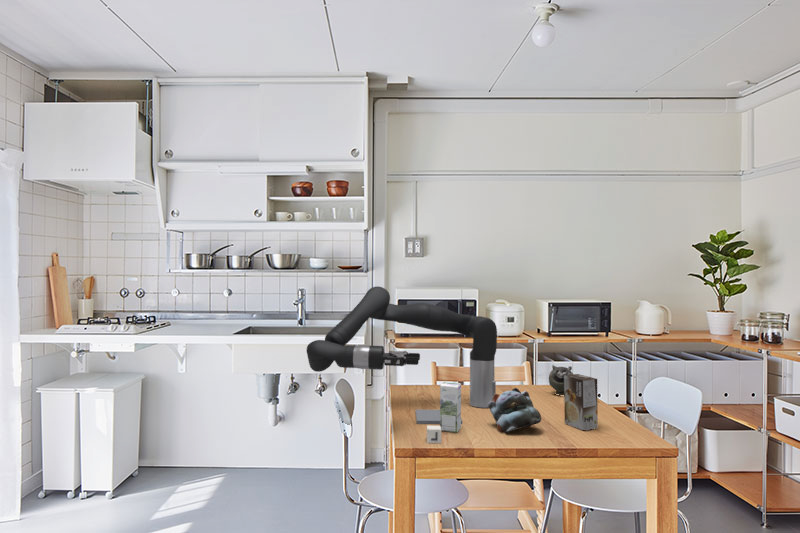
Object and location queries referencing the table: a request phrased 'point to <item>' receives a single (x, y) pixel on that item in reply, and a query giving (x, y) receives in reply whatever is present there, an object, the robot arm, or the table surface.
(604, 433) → the table surface
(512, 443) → the table surface
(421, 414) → the grey board
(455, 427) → the syrup box
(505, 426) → the lucky cat figurine
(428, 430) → the white letter cube
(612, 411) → the table surface
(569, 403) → the coffee box
